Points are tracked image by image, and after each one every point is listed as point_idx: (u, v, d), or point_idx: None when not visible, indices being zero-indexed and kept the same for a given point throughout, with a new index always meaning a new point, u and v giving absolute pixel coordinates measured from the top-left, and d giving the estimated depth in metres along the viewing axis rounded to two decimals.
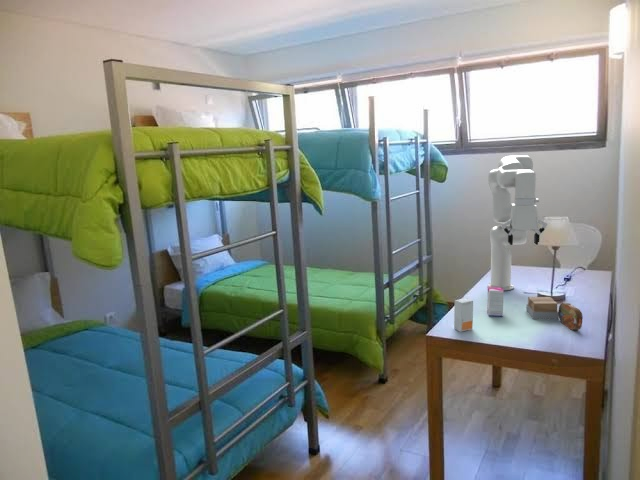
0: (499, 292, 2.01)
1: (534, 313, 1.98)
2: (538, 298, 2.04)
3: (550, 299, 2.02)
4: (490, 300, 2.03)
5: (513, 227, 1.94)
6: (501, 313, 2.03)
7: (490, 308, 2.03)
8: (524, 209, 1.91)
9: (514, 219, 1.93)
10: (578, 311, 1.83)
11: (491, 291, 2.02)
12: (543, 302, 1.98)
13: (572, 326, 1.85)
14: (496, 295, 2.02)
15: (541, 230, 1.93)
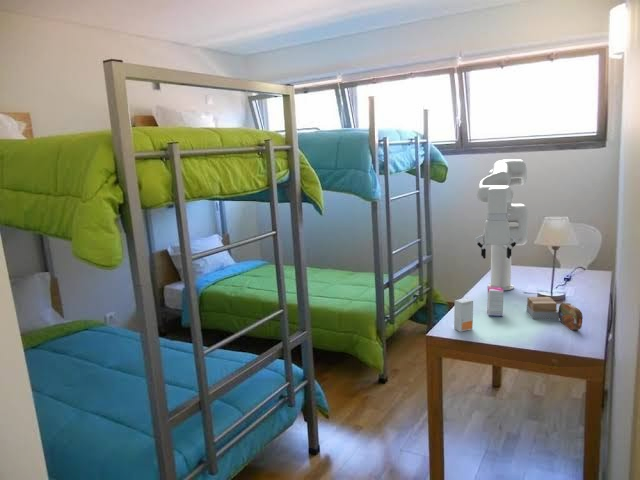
0: (499, 292, 2.01)
1: (534, 313, 1.98)
2: (537, 298, 2.05)
3: (549, 299, 2.03)
4: (490, 300, 2.03)
5: (486, 241, 1.99)
6: (501, 313, 2.03)
7: (490, 308, 2.03)
8: (496, 224, 1.97)
9: (486, 234, 1.98)
10: (578, 311, 1.83)
11: (491, 291, 2.02)
12: (542, 302, 1.99)
13: (572, 326, 1.85)
14: (496, 295, 2.02)
15: (513, 244, 1.99)
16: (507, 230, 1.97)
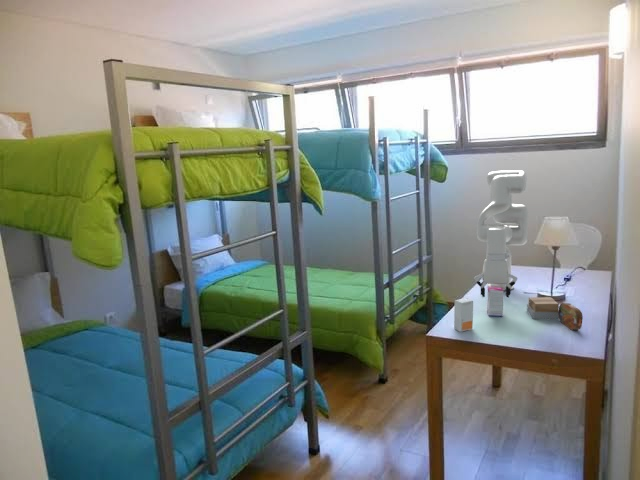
0: (499, 292, 2.01)
1: (534, 313, 1.98)
2: (539, 298, 2.04)
3: (551, 299, 2.02)
4: (490, 300, 2.03)
5: (485, 280, 2.02)
6: (501, 313, 2.03)
7: (490, 308, 2.03)
8: (495, 264, 2.00)
9: (486, 273, 2.01)
10: (578, 311, 1.83)
11: (491, 291, 2.02)
12: (544, 303, 1.98)
13: (572, 326, 1.85)
14: (496, 295, 2.02)
15: (512, 284, 2.02)
16: (506, 270, 2.00)
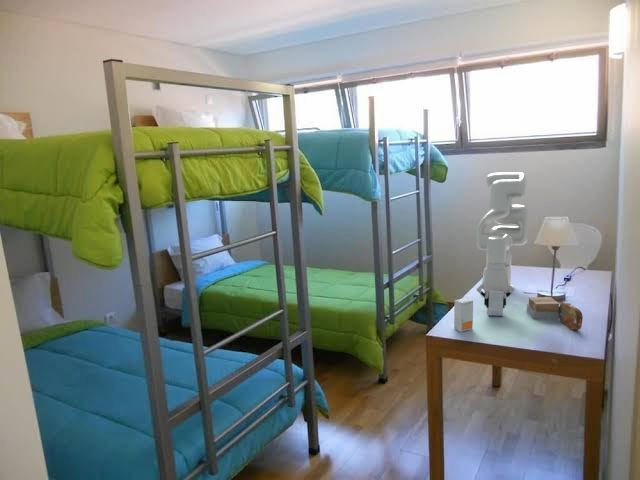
0: (499, 292, 2.01)
1: (534, 313, 1.99)
2: (539, 298, 2.04)
3: (551, 299, 2.02)
4: (490, 300, 2.03)
5: (485, 289, 2.03)
6: (501, 313, 2.03)
7: (490, 308, 2.03)
8: (495, 273, 2.01)
9: (486, 282, 2.02)
10: (578, 311, 1.83)
11: (491, 291, 2.02)
12: (545, 303, 1.98)
13: (572, 326, 1.85)
14: (496, 295, 2.02)
15: (507, 294, 2.03)
16: (506, 279, 2.01)
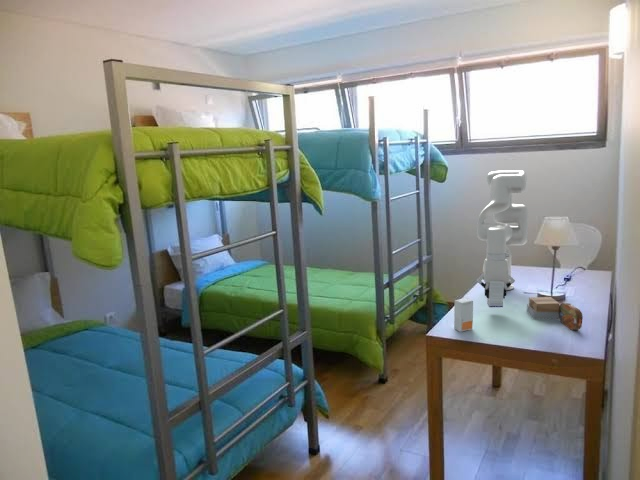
0: (499, 283, 2.01)
1: (535, 313, 1.98)
2: (539, 298, 2.04)
3: (551, 299, 2.02)
4: (490, 291, 2.03)
5: (485, 280, 2.03)
6: (501, 303, 2.03)
7: (490, 299, 2.03)
8: (495, 263, 2.00)
9: (486, 273, 2.02)
10: (578, 311, 1.83)
11: (491, 281, 2.02)
12: (545, 303, 1.98)
13: (572, 326, 1.85)
14: (496, 286, 2.02)
15: (508, 285, 2.03)
16: (506, 269, 2.00)
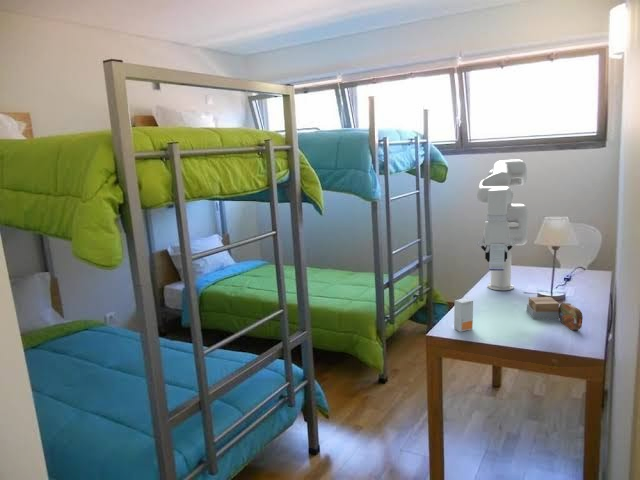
0: (500, 245, 1.98)
1: (534, 313, 1.99)
2: (539, 298, 2.04)
3: (551, 299, 2.02)
4: (491, 253, 1.99)
5: (486, 243, 2.00)
6: (502, 267, 2.00)
7: (491, 262, 2.00)
8: (496, 225, 1.97)
9: (486, 235, 1.99)
10: (578, 311, 1.83)
11: (492, 244, 1.99)
12: (544, 303, 1.98)
13: (572, 326, 1.85)
14: (497, 248, 1.99)
15: (509, 248, 2.00)
16: (507, 231, 1.97)
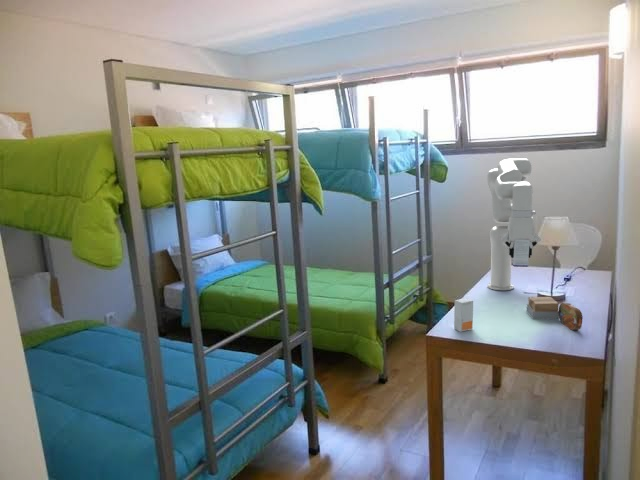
0: (525, 241, 1.96)
1: (534, 313, 1.99)
2: (539, 298, 2.04)
3: (551, 299, 2.02)
4: (515, 249, 1.97)
5: (510, 238, 1.98)
6: (527, 263, 1.97)
7: (515, 258, 1.98)
8: (520, 221, 1.95)
9: (511, 231, 1.97)
10: (578, 311, 1.83)
11: (516, 240, 1.97)
12: (544, 302, 1.98)
13: (572, 326, 1.85)
14: (521, 244, 1.96)
15: (533, 244, 1.97)
16: (532, 227, 1.95)
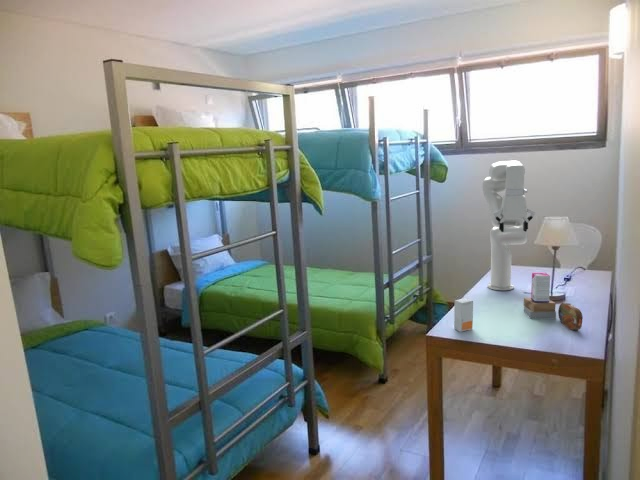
0: (545, 277, 1.97)
1: (531, 313, 1.99)
2: None
3: None
4: (536, 285, 1.98)
5: (504, 215, 2.12)
6: (548, 298, 1.99)
7: (536, 294, 1.99)
8: (513, 199, 2.09)
9: (505, 208, 2.11)
10: (578, 311, 1.83)
11: (537, 276, 1.98)
12: (541, 303, 1.99)
13: (572, 326, 1.85)
14: (542, 280, 1.98)
15: (529, 218, 2.11)
16: (524, 204, 2.09)
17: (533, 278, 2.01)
